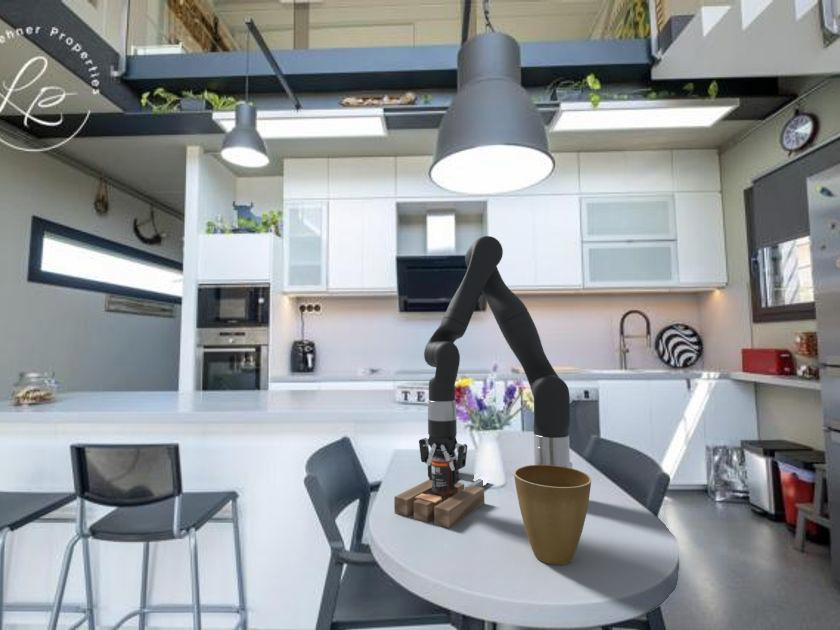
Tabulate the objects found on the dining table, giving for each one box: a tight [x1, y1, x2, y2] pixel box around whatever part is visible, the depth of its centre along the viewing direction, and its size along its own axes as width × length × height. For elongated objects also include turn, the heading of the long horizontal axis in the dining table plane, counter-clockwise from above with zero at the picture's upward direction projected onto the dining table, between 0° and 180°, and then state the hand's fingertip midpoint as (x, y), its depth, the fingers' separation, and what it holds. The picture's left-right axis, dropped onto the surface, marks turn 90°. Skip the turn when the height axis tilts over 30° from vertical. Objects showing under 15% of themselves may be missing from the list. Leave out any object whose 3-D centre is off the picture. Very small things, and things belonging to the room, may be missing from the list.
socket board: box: [393, 479, 485, 529], centre depth 111 cm, size 16×18×4 cm
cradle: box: [459, 470, 484, 489], centre depth 128 cm, size 12×12×2 cm
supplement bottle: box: [431, 449, 455, 496], centre depth 113 cm, size 6×6×11 cm
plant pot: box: [513, 464, 592, 566], centre depth 87 cm, size 15×15×16 cm
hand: (442, 481), depth 113 cm, fingers closed on supplement bottle, 6 cm apart
